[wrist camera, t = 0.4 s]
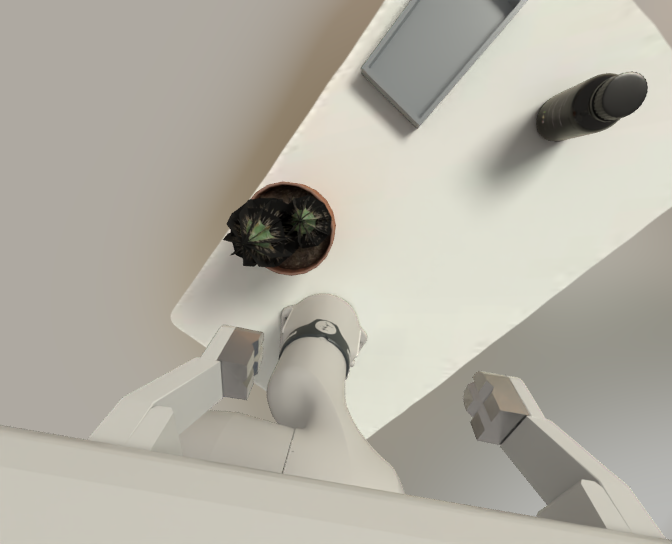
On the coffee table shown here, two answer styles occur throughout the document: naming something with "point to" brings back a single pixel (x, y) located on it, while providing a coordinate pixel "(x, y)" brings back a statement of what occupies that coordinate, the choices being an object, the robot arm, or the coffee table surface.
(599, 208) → the coffee table surface
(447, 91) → the grey serving tray
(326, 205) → the potted plant
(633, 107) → the supplement bottle
